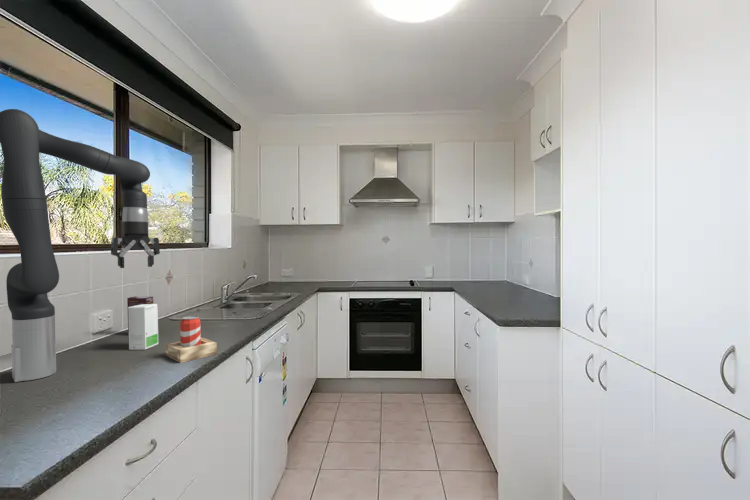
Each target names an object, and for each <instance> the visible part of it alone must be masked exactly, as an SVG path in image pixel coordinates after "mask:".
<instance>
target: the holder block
mask: <svg viewBox="0 0 750 500" xmlns="http://www.w3.org/2000/svg"><path fill="white" fill-rule="evenodd" d="M217 354H218V342H215V341H213V340H210V339H209V338H205V337H201V344H200V345H196V346H191V347H186V348H184V347H181V340H180V341H174V342H170V343H165V356H166V357H168V358H170V359H171V360H173V361H176V362H178V363H180V364H182V363H185V362H186V361H187V362H190V361H194V360H199V359H202V358H207V357H212V356H214V355H217Z"/></svg>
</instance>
